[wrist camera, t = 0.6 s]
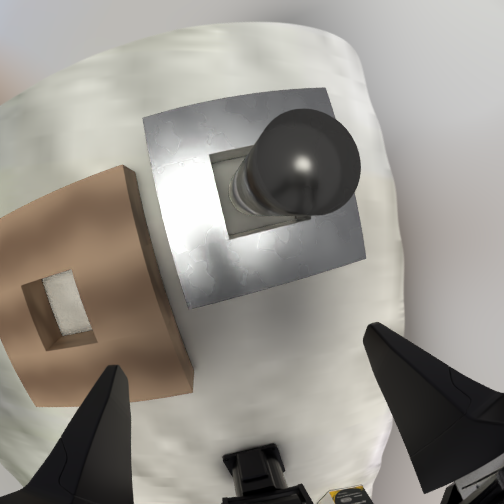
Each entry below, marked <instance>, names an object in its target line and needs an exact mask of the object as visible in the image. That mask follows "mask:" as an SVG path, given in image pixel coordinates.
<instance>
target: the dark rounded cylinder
mask: <svg viewBox="0 0 504 504" xmlns="http://www.w3.org/2000/svg"><path fill="white" fill-rule="evenodd" d="M360 172H361V164H360V156H359V152H358V149H357V146H356V144H355V142H354V140H353V138H352V136H351V135H350V133H349V132H348V131H347V129H346V128H345V127H344V126H343V125H342V124H341V123H340V122H338V121H337V120H336V119H334V118H333V117H331V116H330V115H328V114H326V113H323V112H321V111H318V110H313V109H305V108H304V109H294V110H290V111H287V112H284V113H282V114H280V115H279V116H277V117H276V118H274V119H273V120H272V121H271V122H270V123H269V124H268V125H267V127H266V128H265V129H264V131H263V132H262V134H261V135H260V137H259V138H258V140H257V141H256V143H255V144H254V146H253V147H252V149H251V150H250V152H249V153H248V155H247V156H246V158H245V159H244V161H243V162H242V164H241V165H240V167H239V169H238V170H237V172H236V173H235V175H234V176H233V178H232V180H231V182H230V185H229V198H230V201H231V203H232V204H233V206H234V207H235V208H236V209H237V210H238V211H239V212H241V213H243V214H245V215H249V216H319V215H326V214H329V213H332V212H334V211H336V210H338V209H339V208H341V207H342V206H344V205H345V204H346V203H347V202H348V201H349V200H350V198H351V197H352V196H353V194H354V192H355V190H356V188H357V186H358V183H359V179H360Z"/></svg>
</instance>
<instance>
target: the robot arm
mask: <svg viewBox="0 0 504 504" xmlns="http://www.w3.org/2000/svg"><path fill="white" fill-rule="evenodd" d="M363 344H364V347H365V350H366V353H367V355H368V358H369V361H370V364H371V367H372V370H373V373H374V376H375V378H376V380H377V382H378V385H379V387H380V389H381V391H382V393H383V395H384V398H385V400H386V402H387V404H388V406H389V409H390V411H391V413H392V416H393V418H394V420H395V422H396V425H397V427H398V429H399V432H400V434H401V436H402V439H403V441H404V443H405V446H406V449H407V451H408V454H409V456H410V459H411V461H412V464H413V467H414V469H415V472H416V474H417V477H418V480H419V482H420V484H421V488H422V491H423V493H424V494H426V493H428V492H431V491H433V490H436V489H438V488H440V487H443V486H445V485H447V484H449V483H451V482H453V483H452V484H451V485H449V486H448V487H447V488H446V490H445V493H444V495H443V498H442V501H441V503H440V504H504V393H500V392H497V391H494V390H492V389H490V388H488V387H486V386H484V385H482V384H480V383H478V382H476V381H474V380H472V379H470V378H468V377H466V376H465V375H463V374H461V373H459V372H458V371H456V370H454V369H453V368H451V367H449V366H448V365H447V364H445V363H443V362H442V361H440V360H439V359H437V358H435V357H434V356H432V355H431V354H429V353H428V352H426V351H424V350H423V349H421V348H419V347H418V346H416V345H414V344H413V343H412V342H410V341H408V340H407V339H405V338H404V337H402V336H400V335H399V334H397V333H396V332H394V331H392V330H391V329H389V328H388V327H386V326H384V325H383V324H381V323H379V322H375V323H371V324H369V325H368V326H367V329H366V332H365V334H364V337H363ZM222 458H223V462H224V463H225V465H226V467H227V468H228V470H229V472H230V473H231V475H232V477H233V479H234V485H235V491H236V496H237V497H231V498H227V497H225V498H222V501H223V503H221V504H313V502H312V500H311V498H310V496H309V495H308V493H307V491H306V489H305V488H304V486H303V484H298V485H297V486H293V487H289V488H288V487H287V484H286V481H285V478H284V475H283V472H285V468H284V465H283V462H282V459H281V456H280V454H279V451H278V448H277V445H276V444H271V445H268V446H264V447H260V448H256V449H252V450H248V451H244V452H239V453H235V454H230V455H225V456H223V457H222ZM0 504H134V501H133V488H132V469H131V412H130V399H129V383H128V378H127V376H126V375H125V373H124V372H123V370H122V369H121V367H120V366H119V365H117V364H116V365H108V366H107V367H106V368H105V370H104V371H103V372H102V374H101V375H100V377H99V378H98V380H97V381H96V383H95V384H94V386H93V387H92V389H91V390H90V392H89V393H88V395H87V396H86V398H85V399H84V401H83V402H82V404H81V405H80V407H79V408H78V410H77V412H76V413H75V415H74V416H73V418H72V419H71V421H70V423H69V424H68V426H67V427H66V429H65V431H64V432H63V434H62V435H61V438H60V439H59V440H58V442H57V444H56V445H55V447H54V448H53V450H52V451H51V453H50V455H49V456H48V457H47V459H46V460H45V462H44V463H43V464H42V466H41V467H40V468H39V470H38V471H37V472H36V474H35V475H34V476H33V478H32V479H31V480H30V482H29V483H28V484H27V485H26V486H25V487H24V488H23V489H20V490H18V491H16V492H13V493H11V494H8V495H5V496H2V497H0Z"/></svg>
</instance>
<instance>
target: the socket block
mask: <svg viewBox="0 0 504 504" xmlns="http://www.w3.org/2000/svg"><path fill="white" fill-rule="evenodd" d="M304 108H305V109H313V110H318V111H321V112H323V113H326V114H328V115H330V116H331V117H333V118H334V119H335V115H334V112H333V109H332V106H331V103H330V100H329V97H328V94H327V91H326V88H304V89H290V90H279V91H270V92H261V93H253V94H246V95H240V96H234V97H228V98H222V99H217V100H212V101H207V102H202V103H197V104H193V105H189V106H184V107H180V108H176V109H172V110H169V111H165V112H161V113H158V114H154V115H151V116H148V117H144V118H143V124H144V130H145V136H146V141H147V147H148V152H149V158H150V163H151V168H152V173H153V177H154V182H155V187H156V191H157V196H158V200H159V204H160V209H161V213H162V217H163V221H164V225H165V229H166V233H167V237H168V241H169V244H170V248H171V252H172V255H173V259H174V263H175V266H176V270H177V273H178V276H179V280H180V283H181V287H182V290H183V293H184V296H185V300H186V303H187V306H188V309H193V308H197V307H201V306H205V305H209V304H213V303H216V302H220V301H224V300H228V299H231V298H235V297H239V296H243V295H246V294H250V293H254V292H257V291H261V290H264V289H268V288H271V287H275V286H278V285H282V284H285V283H289V282H292V281H295V280H299V279H302V278H306V277H309V276H312V275H316V274H319V273H322V272H325V271H329V270H332V269H335V268H338V267H341V266H345V265H348V264H351V263H354V262H357V261H360V260H363V259H366V253H365V247H364V240H363V234H362V228H361V223H360V217H359V212H358V207H357V202H356V197H355V192H354V194H353V196H352V197H351V198H350V200H349V201H348V202H347V203H346V204H345V205H344V206H342V207H341V208H339V209H338V210H336V211H334V212H332V213H329V214H326V215H319V216H296V219H294V220H289V221H285V222H281V223H277V224H273V225H269V226H265V227H261V228H257V229H253V230H249V231H245V232H241V233H237V234H233V235H229V236H228V233H227V229H226V224H225V220H224V216H223V212H222V208H221V204H220V200H219V196H218V192H217V187H216V183H215V179H214V175H213V171H212V166H211V163H215V162H219V161H224V160H228V159H233V158H238V157H243V156H247V155H248V153H249V152H250V150H251V149H252V147H253V146H254V144H255V143H256V141H257V140H258V138H259V137H260V135H261V134H262V132H263V131H264V129H265V128H266V127H267V125H268V124H269V123H270V122H271V121H272V120H273V119H274V118H276V117H277V116H279V115H280V114H282V113H284V112H287V111H290V110H294V109H304Z"/></svg>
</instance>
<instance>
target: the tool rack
mask: <svg viewBox="0 0 504 504" xmlns="http://www.w3.org/2000/svg"><path fill="white" fill-rule="evenodd" d="M70 269H72V272H73V276H74V279H75V282H76V285H77V288H78V292H79V295H80V297H81V300H82V303H83V306H84V309H85V311H86V314H87V317H88V319H89V322H90V324H91V327H92V329H93V330H91V331H86V332H81V333H76V334H71V335H66V336H62V335H61V332H60V330H59V327H58V325H57V322H56V320H55V317H54V315H53V312H52V309H51V306H50V304H49V301H48V298H47V295H46V292H45V289H44V286H43V282H42V278H45V277H48V276H51V275H54V274H57V273H60V272H64V271H67V270H70ZM0 339H1V341H2V343H3V346H4V348H5V350H6V352H7V355H8V357H9V359H10V361H11V363H12V365H13V367H14V369H15V371H16V373H17V375H18V377H19V378H20V380H21V382H22V384H23V386H24V387H25V389H26V391H27V393H28V394H29V396H30V398H31V399H32V401H33V403H34V404H35V406H36V407H78V406H80V405H81V404H82V402H83V401H84V399H85V398H86V396H87V395H88V393H89V392H90V390H91V389H92V387H93V386H94V384H95V383H96V381H97V380H98V378H99V377H100V375H101V374H102V372H103V371H104V370H105V368H106V367H107V366H108V365H116V364H117V365H119V366H120V367H121V369H122V370H123V372H124V373H125V375H126V376H127V378H128V383H129V399H130V402H138V401H145V400H152V399H159V398H165V397H171V396H177V395H182V394H188V393H193V379H194V370H193V367H192V365H191V362H190V360H189V357H188V354H187V352H186V349H185V347H184V344H183V341H182V338H181V336H180V333H179V330H178V327H177V324H176V322H175V319H174V316H173V313H172V310H171V307H170V304H169V301H168V298H167V295H166V291H165V288H164V285H163V282H162V279H161V275H160V272H159V268H158V265H157V262H156V258H155V254H154V251H153V247H152V243H151V240H150V236H149V232H148V228H147V224H146V220H145V216H144V211H143V207H142V203H141V198H140V194H139V189H138V184H137V179H136V174H135V172H134V171H132V170H131V169H129V168H127V167H126V166H124V165H120V166H117V167H114V168H111V169H108V170H106V171H103V172H100V173H98V174H95V175H92V176H90V177H87V178H85V179H82V180H80V181H77V182H75V183H72V184H70V185H68V186H65V187H63V188H61V189H58V190H56V191H54V192H52V193H49V194H47V195H45V196H43V197H41V198H39V199H37V200H35V201H32V202H30V203H28V204H26V205H24V206H22V207H21V208H19V209H17V210H15V211H13V212H11V213H9V214H7V215H6V216H4V217H2V218H0Z"/></svg>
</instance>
